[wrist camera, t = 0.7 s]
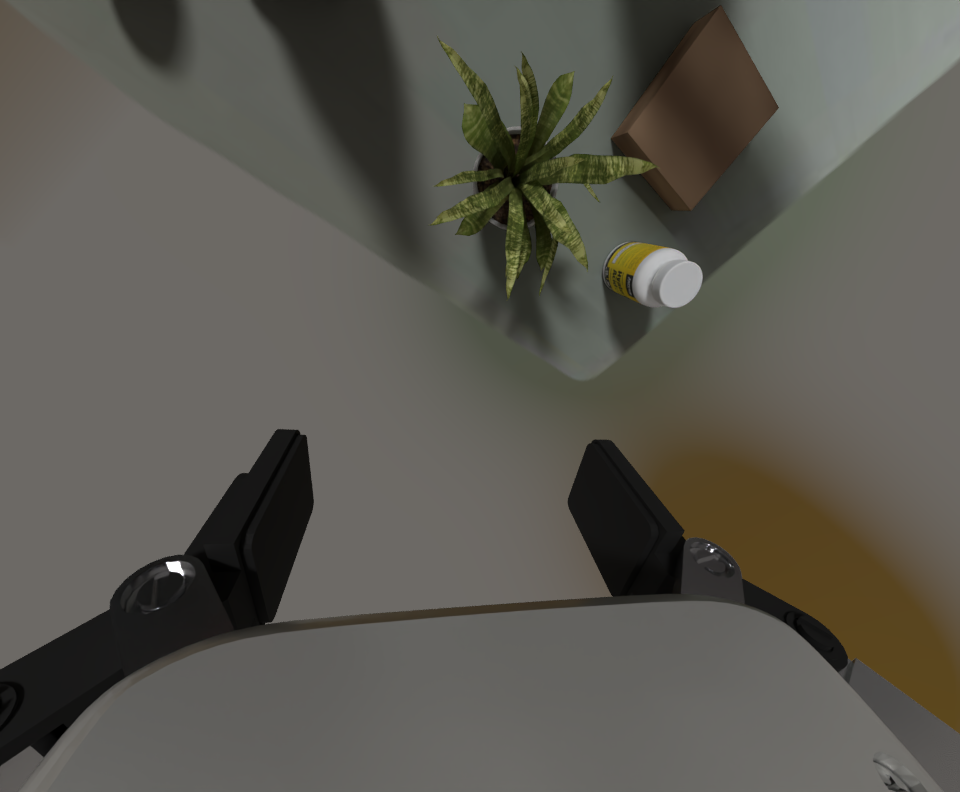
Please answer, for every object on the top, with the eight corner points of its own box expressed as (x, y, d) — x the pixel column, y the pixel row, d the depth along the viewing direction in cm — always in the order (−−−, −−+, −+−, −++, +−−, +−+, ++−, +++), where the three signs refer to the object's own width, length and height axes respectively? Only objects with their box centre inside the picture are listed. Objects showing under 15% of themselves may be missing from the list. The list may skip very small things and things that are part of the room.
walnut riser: (694, 23, 29) (721, 5, 26) (750, 115, 33) (778, 107, 30) (610, 138, 32) (627, 132, 30) (671, 210, 36) (691, 210, 33)
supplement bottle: (592, 265, 38) (642, 282, 29) (633, 229, 36) (698, 236, 28) (615, 302, 40) (667, 327, 32) (654, 269, 39) (720, 286, 30)
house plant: (382, 203, 32) (352, 199, 18) (463, 39, 27) (510, -140, 13) (503, 288, 37) (554, 337, 23) (587, 163, 33) (714, 131, 19)
